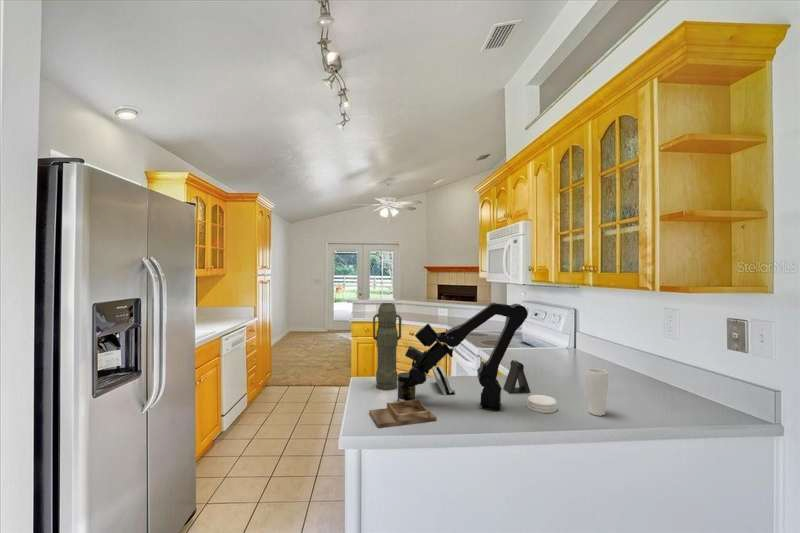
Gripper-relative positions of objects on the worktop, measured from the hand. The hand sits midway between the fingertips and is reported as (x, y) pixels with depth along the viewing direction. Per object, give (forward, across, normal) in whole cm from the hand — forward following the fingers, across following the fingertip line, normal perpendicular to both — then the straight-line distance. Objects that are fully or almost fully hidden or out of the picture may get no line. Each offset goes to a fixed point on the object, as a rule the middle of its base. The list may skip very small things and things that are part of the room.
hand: (403, 384), depth 144 cm
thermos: (+11, -17, -1) cm, 21 cm away
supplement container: (+4, 0, +6) cm, 7 cm away
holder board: (+4, +14, +6) cm, 15 cm away
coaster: (-30, -1, +41) cm, 51 cm away
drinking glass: (-43, +1, +53) cm, 69 cm away
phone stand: (-27, -19, +37) cm, 49 cm away
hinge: (-5, -19, +15) cm, 25 cm away
